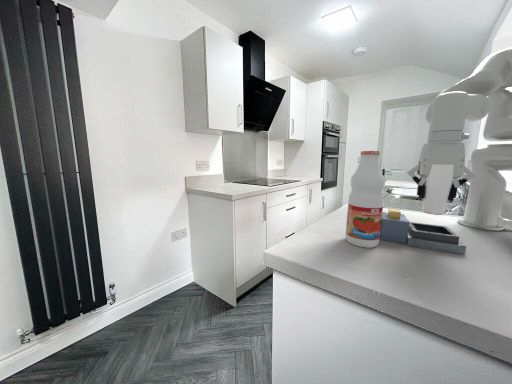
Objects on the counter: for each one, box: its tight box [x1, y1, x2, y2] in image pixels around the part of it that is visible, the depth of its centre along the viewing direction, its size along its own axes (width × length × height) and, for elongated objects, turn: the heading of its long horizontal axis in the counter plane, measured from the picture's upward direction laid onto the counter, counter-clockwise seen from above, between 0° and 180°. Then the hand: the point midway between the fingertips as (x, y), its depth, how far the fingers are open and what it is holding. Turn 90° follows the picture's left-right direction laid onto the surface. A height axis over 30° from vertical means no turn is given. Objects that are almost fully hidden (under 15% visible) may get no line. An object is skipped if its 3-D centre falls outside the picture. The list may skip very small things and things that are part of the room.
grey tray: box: [379, 208, 467, 256], centre depth 68 cm, size 22×13×9 cm, turn 64°
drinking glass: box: [422, 164, 453, 216], centre depth 64 cm, size 7×7×15 cm
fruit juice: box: [345, 150, 386, 249], centre depth 64 cm, size 9×9×28 cm
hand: (435, 198), depth 64 cm, fingers closed on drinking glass, 6 cm apart
